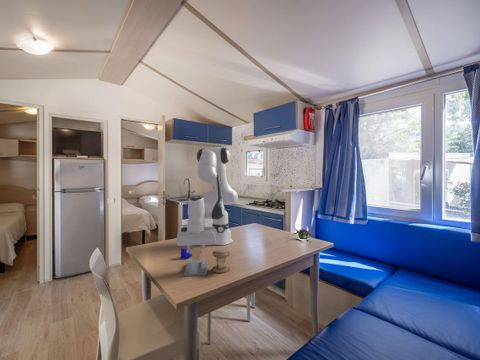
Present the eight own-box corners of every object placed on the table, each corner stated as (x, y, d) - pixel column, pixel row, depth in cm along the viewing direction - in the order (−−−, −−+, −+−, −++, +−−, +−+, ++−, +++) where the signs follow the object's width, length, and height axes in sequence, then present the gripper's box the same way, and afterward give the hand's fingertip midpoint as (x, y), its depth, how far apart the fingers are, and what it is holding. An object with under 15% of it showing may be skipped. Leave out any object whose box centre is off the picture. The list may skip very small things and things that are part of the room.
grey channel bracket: (187, 263, 127) (187, 257, 127) (207, 262, 128) (207, 256, 128) (183, 276, 111) (183, 269, 111) (206, 275, 112) (206, 268, 112)
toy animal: (309, 244, 164) (309, 231, 164) (291, 240, 175) (292, 227, 175) (317, 241, 172) (317, 228, 172) (299, 237, 183) (299, 225, 182)
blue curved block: (186, 259, 134) (186, 249, 134) (180, 258, 136) (180, 248, 136) (199, 253, 144) (199, 244, 144) (193, 252, 147) (193, 243, 147)
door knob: (212, 266, 123) (212, 250, 123) (229, 265, 124) (229, 249, 124) (212, 273, 114) (212, 255, 114) (230, 272, 115) (230, 255, 115)
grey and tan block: (192, 257, 121) (192, 243, 121) (200, 256, 122) (200, 243, 122) (191, 259, 117) (191, 245, 117) (200, 259, 117) (200, 245, 117)
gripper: (216, 225, 124) (216, 250, 124) (177, 226, 121) (177, 252, 121) (216, 228, 117) (216, 254, 118) (175, 229, 115) (175, 256, 115)
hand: (196, 253), depth 119 cm, fingers closed on grey and tan block, 4 cm apart
